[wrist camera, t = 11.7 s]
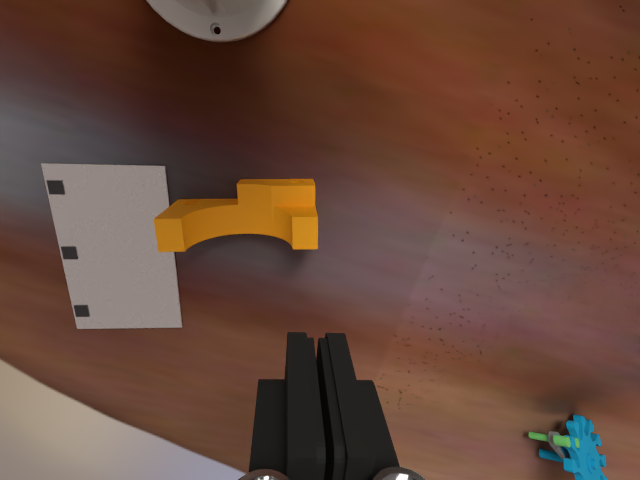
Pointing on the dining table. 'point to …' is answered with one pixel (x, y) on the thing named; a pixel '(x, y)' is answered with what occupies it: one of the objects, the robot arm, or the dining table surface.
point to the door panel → (114, 244)
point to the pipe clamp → (244, 215)
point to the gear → (575, 449)
